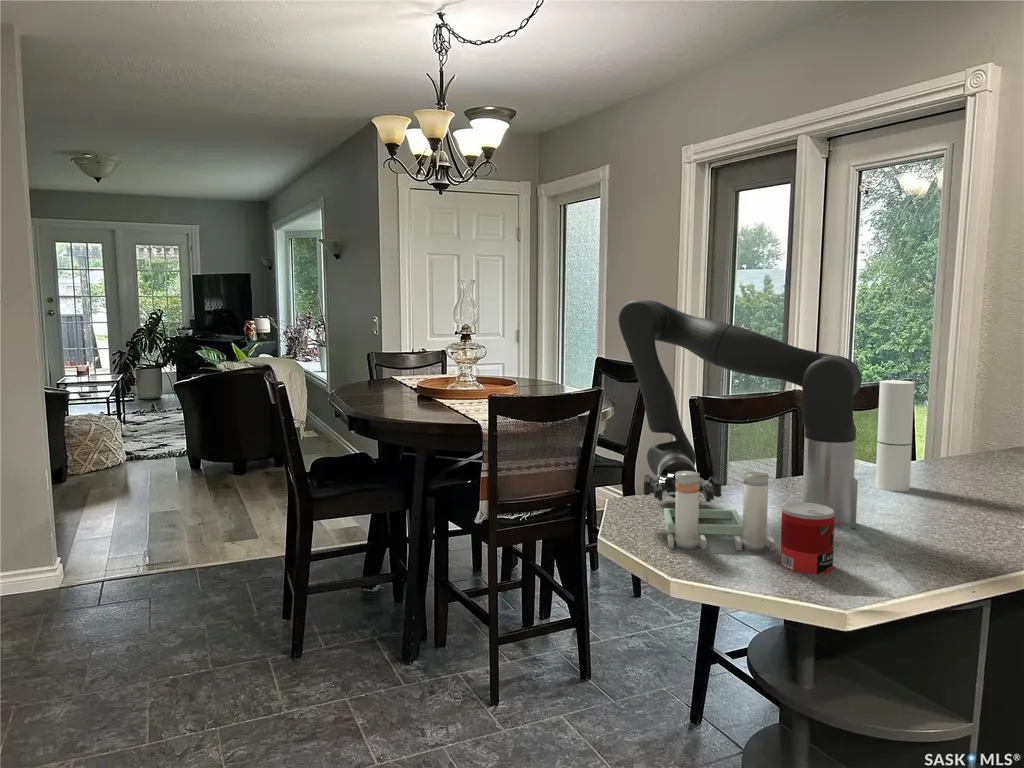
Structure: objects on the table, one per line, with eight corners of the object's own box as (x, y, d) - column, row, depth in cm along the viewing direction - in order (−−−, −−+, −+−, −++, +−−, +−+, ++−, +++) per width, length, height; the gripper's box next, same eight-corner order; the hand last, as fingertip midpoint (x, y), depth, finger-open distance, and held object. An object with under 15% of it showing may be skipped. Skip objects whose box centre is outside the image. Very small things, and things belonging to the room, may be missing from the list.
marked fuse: (697, 541, 132) (698, 471, 130) (699, 549, 127) (700, 476, 126) (673, 541, 132) (674, 470, 131) (675, 548, 128) (676, 476, 127)
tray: (735, 524, 146) (735, 509, 146) (745, 542, 135) (745, 526, 135) (663, 522, 148) (663, 508, 148) (668, 540, 137) (668, 524, 137)
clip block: (768, 548, 132) (768, 532, 132) (778, 564, 124) (778, 547, 124) (666, 545, 134) (666, 529, 134) (669, 560, 126) (670, 544, 126)
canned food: (828, 586, 114) (830, 518, 113) (775, 577, 118) (777, 510, 117) (836, 570, 121) (838, 506, 119) (785, 562, 125) (787, 499, 124)
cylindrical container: (910, 486, 173) (915, 381, 170) (908, 492, 167) (913, 384, 164) (877, 482, 177) (881, 379, 174) (873, 489, 171) (878, 382, 168)
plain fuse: (764, 543, 130) (765, 472, 128) (769, 551, 126) (770, 477, 124) (740, 543, 130) (741, 471, 129) (744, 550, 126) (745, 477, 125)
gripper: (641, 456, 149) (644, 474, 133) (713, 457, 147) (725, 476, 131) (641, 492, 150) (644, 515, 134) (713, 493, 148) (724, 517, 132)
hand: (684, 496), depth 132 cm, fingers open, 8 cm apart
